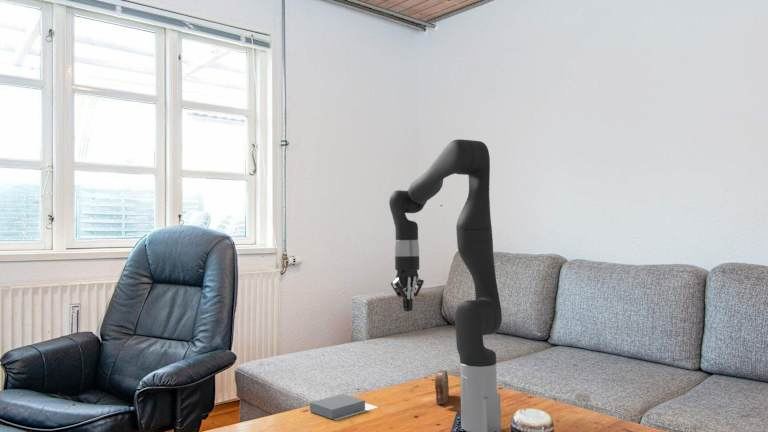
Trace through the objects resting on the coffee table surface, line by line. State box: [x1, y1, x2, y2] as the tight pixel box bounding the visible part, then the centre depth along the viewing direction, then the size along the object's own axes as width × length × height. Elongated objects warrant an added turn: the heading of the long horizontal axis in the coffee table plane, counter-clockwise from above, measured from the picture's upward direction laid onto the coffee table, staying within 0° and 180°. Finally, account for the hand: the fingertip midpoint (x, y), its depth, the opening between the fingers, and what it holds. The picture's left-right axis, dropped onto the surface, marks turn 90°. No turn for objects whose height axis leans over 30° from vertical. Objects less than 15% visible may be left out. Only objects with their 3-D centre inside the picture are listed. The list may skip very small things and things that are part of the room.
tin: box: [434, 370, 450, 405], centre depth 169 cm, size 15×3×8 cm, turn 168°
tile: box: [309, 393, 366, 420], centre depth 158 cm, size 10×3×12 cm
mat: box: [332, 402, 379, 421], centre depth 160 cm, size 12×16×1 cm
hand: (408, 311), depth 171 cm, fingers closed
